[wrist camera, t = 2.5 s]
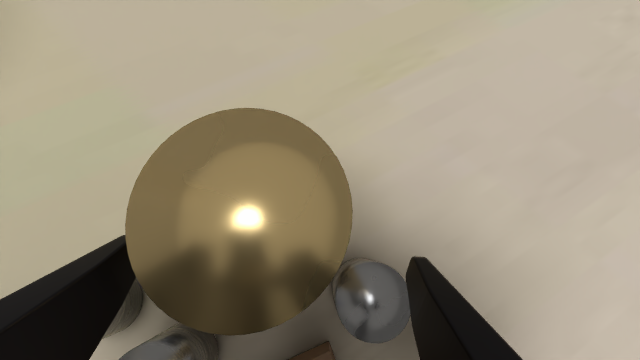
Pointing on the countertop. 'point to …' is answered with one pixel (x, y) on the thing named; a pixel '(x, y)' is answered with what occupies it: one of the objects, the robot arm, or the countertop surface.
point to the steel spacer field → (350, 299)
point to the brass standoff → (238, 221)
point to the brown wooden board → (317, 353)
